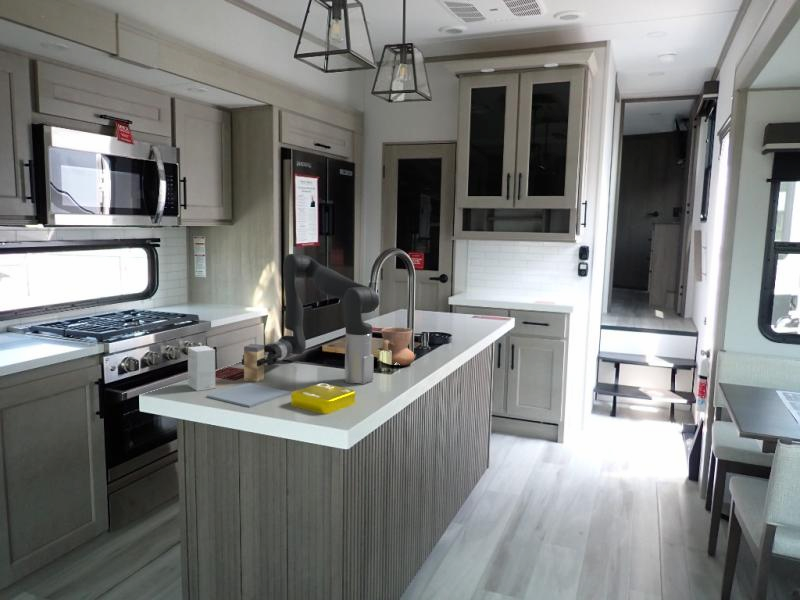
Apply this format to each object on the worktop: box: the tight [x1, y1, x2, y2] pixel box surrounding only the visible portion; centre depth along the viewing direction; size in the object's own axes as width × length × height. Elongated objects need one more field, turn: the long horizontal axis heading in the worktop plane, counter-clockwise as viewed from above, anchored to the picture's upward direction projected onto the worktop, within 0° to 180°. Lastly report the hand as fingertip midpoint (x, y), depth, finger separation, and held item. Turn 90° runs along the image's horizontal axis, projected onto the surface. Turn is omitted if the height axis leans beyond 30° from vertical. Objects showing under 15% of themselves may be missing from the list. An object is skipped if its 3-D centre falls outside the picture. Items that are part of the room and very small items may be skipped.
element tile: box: [290, 382, 356, 415], centre depth 181 cm, size 15×15×5 cm
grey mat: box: [206, 382, 291, 408], centre depth 187 cm, size 18×18×1 cm
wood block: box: [243, 343, 265, 383], centre depth 205 cm, size 5×5×12 cm
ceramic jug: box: [378, 326, 416, 367], centre depth 235 cm, size 18×14×14 cm
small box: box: [187, 345, 216, 392], centre depth 194 cm, size 8×6×13 cm
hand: (250, 362), depth 203 cm, fingers closed on wood block, 5 cm apart
